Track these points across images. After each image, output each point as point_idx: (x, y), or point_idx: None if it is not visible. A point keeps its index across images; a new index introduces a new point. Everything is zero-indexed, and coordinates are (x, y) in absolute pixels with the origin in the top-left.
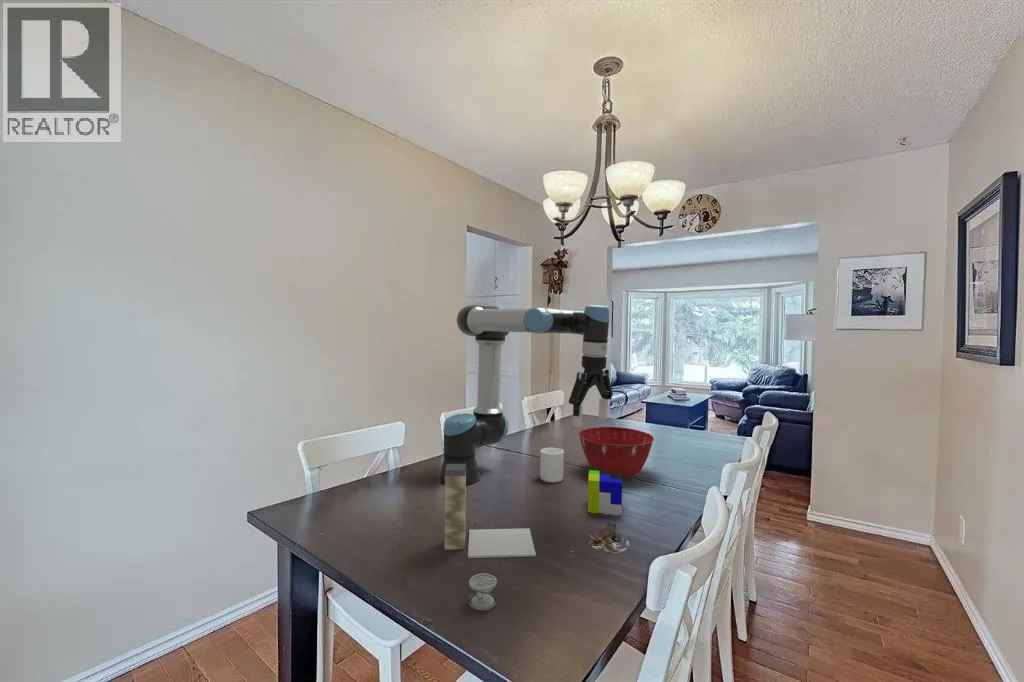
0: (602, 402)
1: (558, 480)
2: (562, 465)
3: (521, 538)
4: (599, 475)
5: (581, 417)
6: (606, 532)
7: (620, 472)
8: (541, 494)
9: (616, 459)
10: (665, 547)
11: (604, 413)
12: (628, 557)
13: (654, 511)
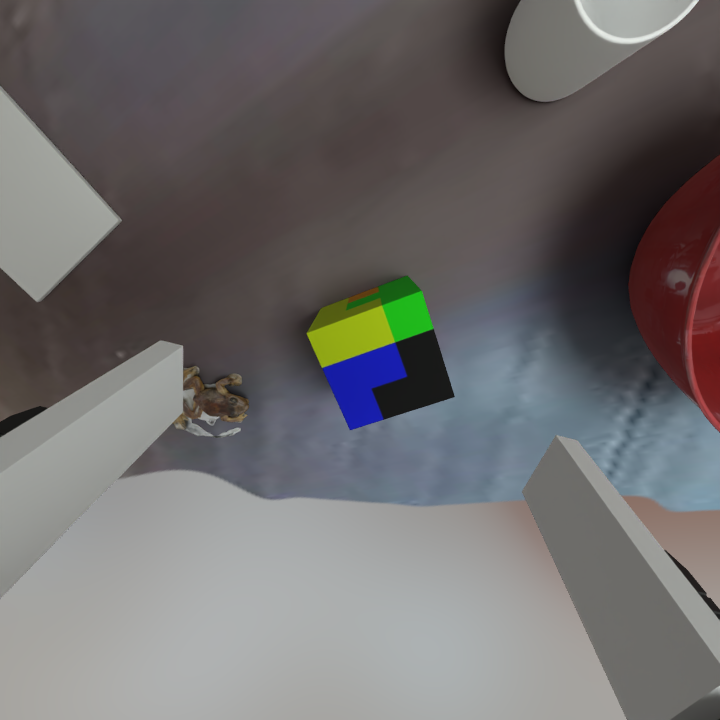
0: (641, 633)
1: (525, 95)
2: (582, 77)
3: (61, 233)
4: (380, 347)
5: (116, 468)
6: (201, 405)
7: (454, 396)
8: (370, 103)
9: (648, 323)
10: (262, 487)
11: (548, 527)
12: (180, 447)
13: (422, 438)
